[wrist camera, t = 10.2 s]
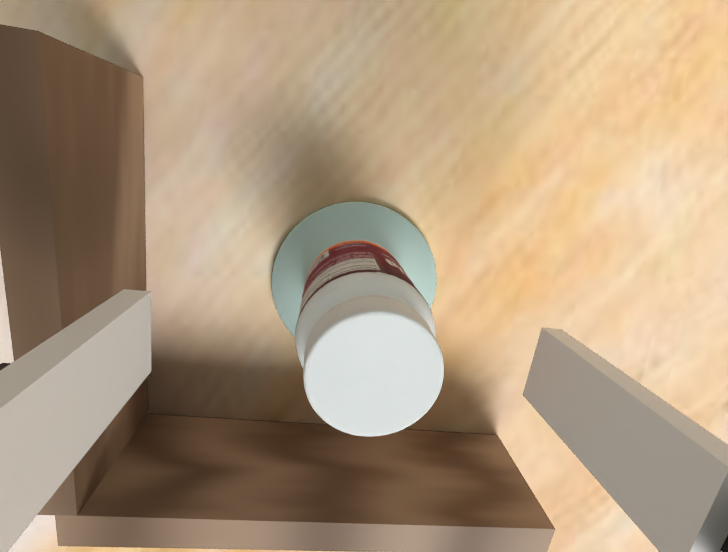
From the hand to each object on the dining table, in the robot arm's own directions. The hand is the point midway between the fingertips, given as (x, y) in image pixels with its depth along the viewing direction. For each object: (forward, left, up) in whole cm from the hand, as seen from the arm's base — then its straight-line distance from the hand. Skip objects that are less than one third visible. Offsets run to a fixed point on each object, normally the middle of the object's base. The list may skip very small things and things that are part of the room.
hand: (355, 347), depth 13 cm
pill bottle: (0, 0, -6) cm, 6 cm away
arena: (0, -1, -6) cm, 6 cm away
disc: (0, 0, -6) cm, 6 cm away
